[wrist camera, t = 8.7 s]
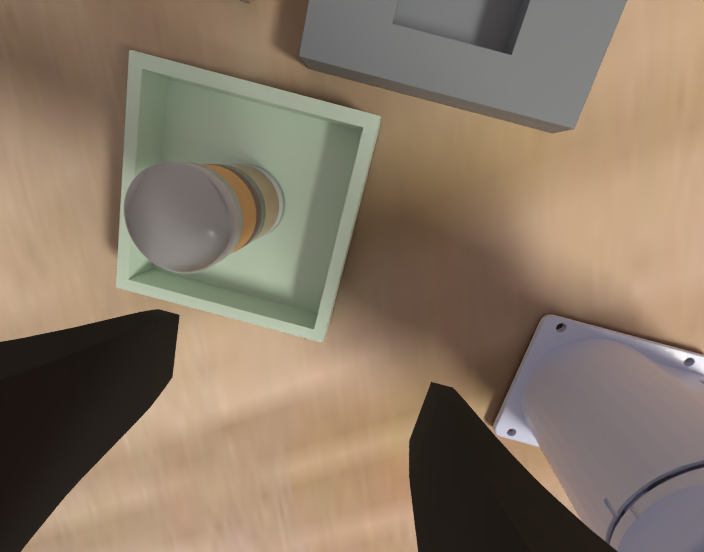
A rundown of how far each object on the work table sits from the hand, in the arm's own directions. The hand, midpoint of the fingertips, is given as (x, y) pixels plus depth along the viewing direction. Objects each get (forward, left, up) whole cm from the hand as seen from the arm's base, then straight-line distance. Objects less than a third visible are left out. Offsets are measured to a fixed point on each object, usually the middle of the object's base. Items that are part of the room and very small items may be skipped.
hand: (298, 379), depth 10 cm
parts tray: (+5, -2, -10) cm, 12 cm away
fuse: (+5, -3, -10) cm, 12 cm away
